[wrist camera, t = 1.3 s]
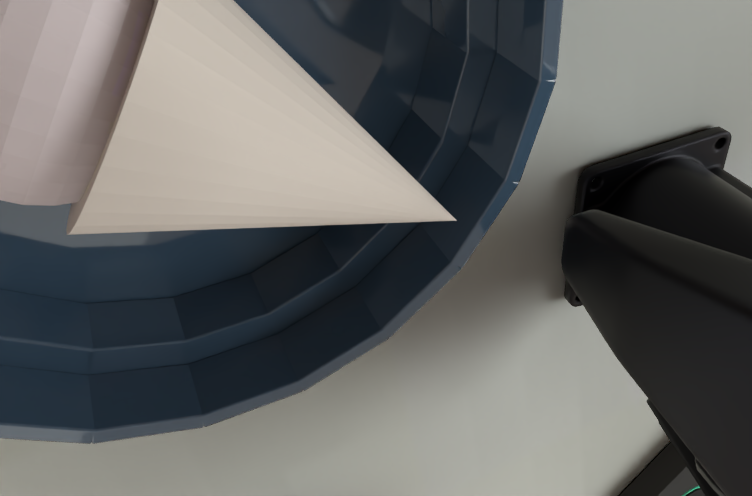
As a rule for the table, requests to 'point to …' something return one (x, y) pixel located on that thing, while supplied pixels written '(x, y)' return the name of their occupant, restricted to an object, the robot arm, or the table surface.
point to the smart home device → (665, 478)
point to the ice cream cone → (181, 124)
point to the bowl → (278, 235)
